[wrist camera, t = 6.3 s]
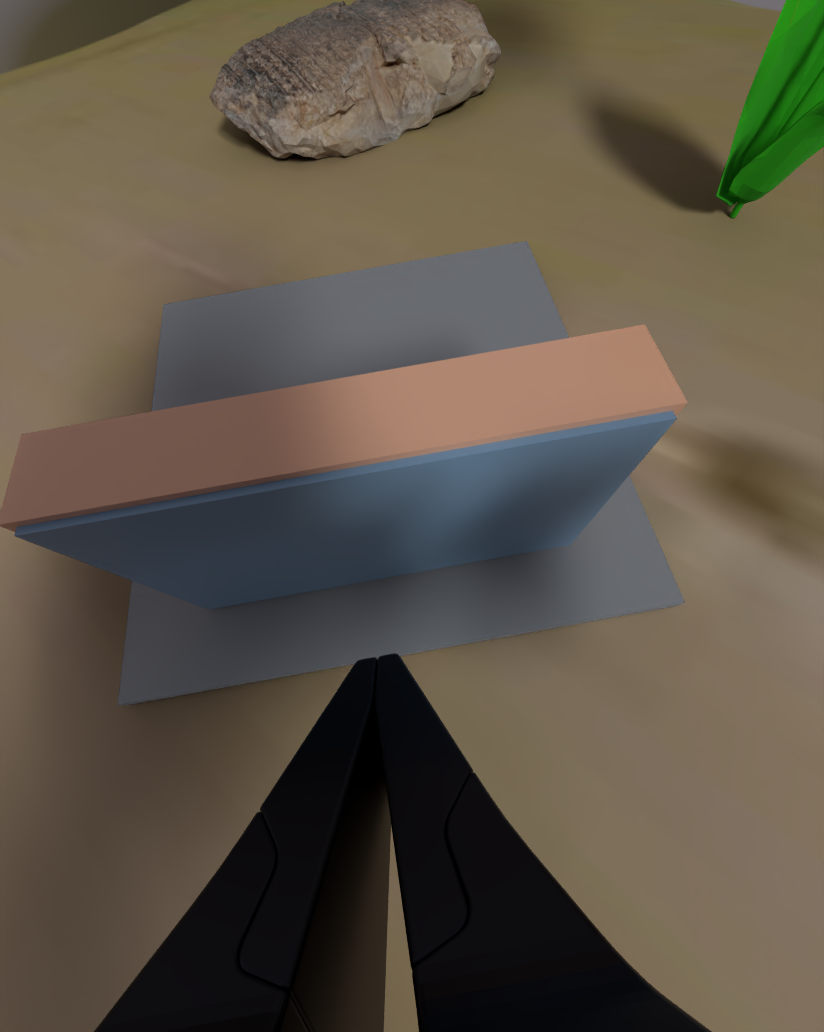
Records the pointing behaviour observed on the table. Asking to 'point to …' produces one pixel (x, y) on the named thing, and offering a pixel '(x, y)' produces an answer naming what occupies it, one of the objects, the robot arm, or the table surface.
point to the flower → (780, 108)
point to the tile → (350, 471)
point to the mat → (399, 599)
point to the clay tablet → (356, 75)
